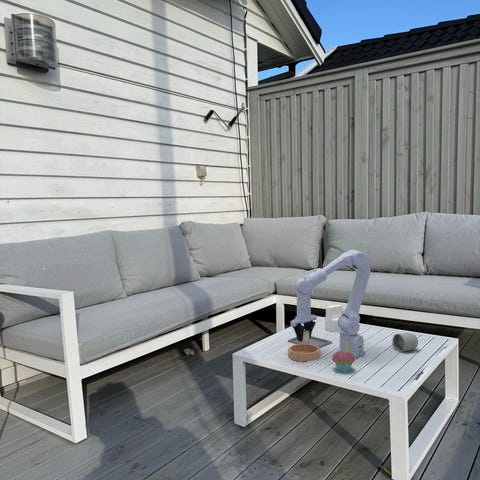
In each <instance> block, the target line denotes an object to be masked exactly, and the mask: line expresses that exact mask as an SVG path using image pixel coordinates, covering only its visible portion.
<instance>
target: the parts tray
mask: <svg viewBox="0 0 480 480" xmlns="http://www.w3.org/2000/svg"><path fill="white" fill-rule="evenodd" d="M287 342H288V343H291V344H293V345H294V344H299V343H298V340H297V336H296V337H292V338H290V339H287ZM309 344H313V345H316V346H318V347H319V348H320V349H321V348H324V347H327V346H329V345H331V344H333V340H328V339H325V338H321V337H316V336H313V335H311V338H310V339H309Z"/></svg>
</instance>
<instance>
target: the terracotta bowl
mask: <svg viewBox="0 0 480 480" xmlns="http://www.w3.org/2000/svg"><path fill="white" fill-rule="evenodd" d="M287 355H288V359H290V360H292V361H295V362H298V363H299V362H300V363H308V362H309V361H315V360H317V359H319V358H320V357H321V348H319V347H318V346H316V345H313V344H307V345H301V344H294V343H293V344H292V345H289V346H288V348H287Z"/></svg>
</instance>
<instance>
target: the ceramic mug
mask: <svg viewBox="0 0 480 480" xmlns="http://www.w3.org/2000/svg"><path fill="white" fill-rule="evenodd" d="M418 344H419V341H418V338H417V336H416V334H414V333H412V332H404V333H402V332H401V333H394V335H393V337H392V343H391V345H392V346H393V348H394V349H395V351H396V352H398V351H399V352H400V353H402V352H409V351H412V350H413V351H414V350H416V349H417V348H418V346H419V345H418ZM399 352H398V353H399Z"/></svg>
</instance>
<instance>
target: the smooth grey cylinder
mask: <svg viewBox="0 0 480 480" xmlns="http://www.w3.org/2000/svg"><path fill="white" fill-rule="evenodd" d="M298 343H299V344H301V345H307V344H309V331H308V330H305V329H304V332H303V341H302V342H300V341H298Z"/></svg>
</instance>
